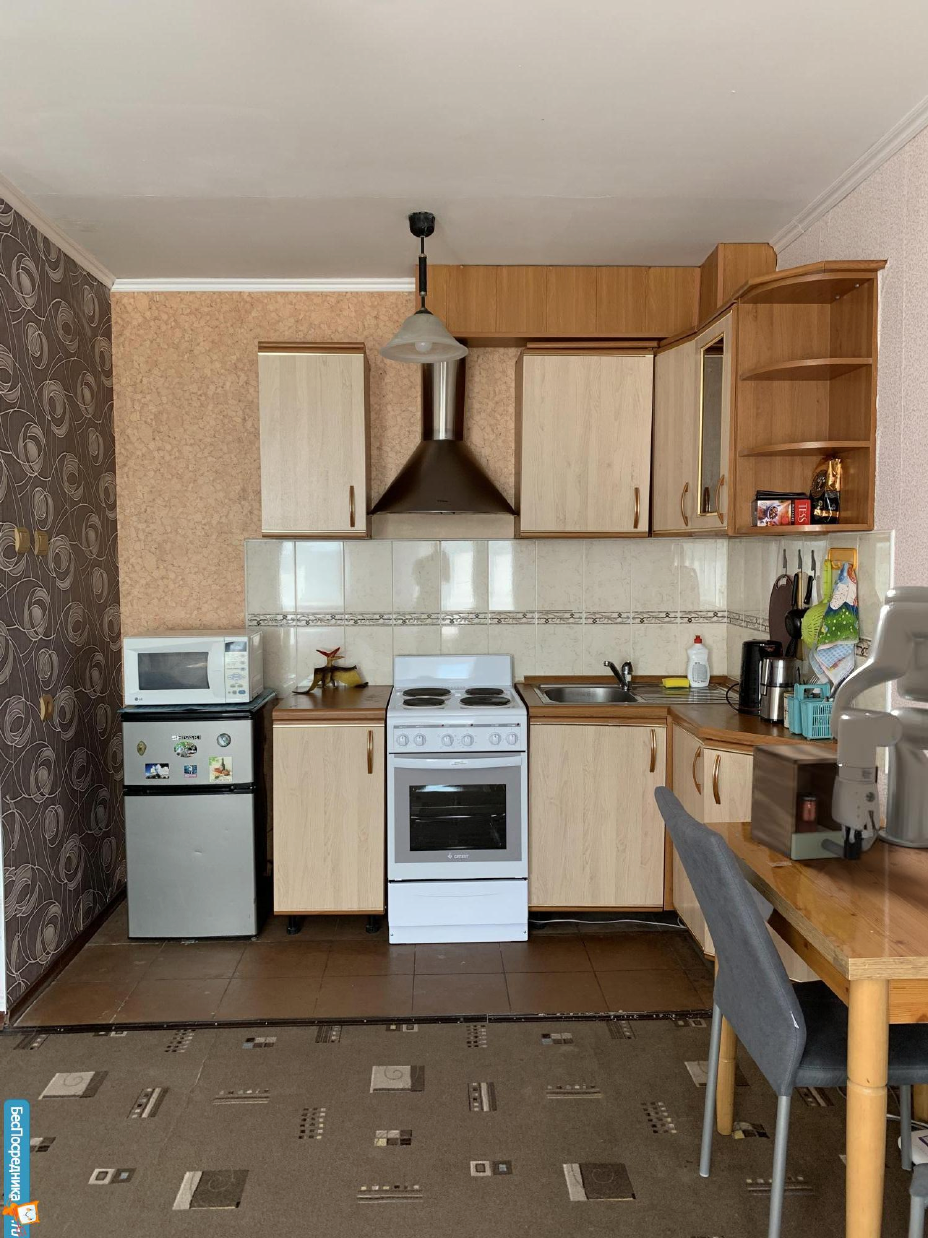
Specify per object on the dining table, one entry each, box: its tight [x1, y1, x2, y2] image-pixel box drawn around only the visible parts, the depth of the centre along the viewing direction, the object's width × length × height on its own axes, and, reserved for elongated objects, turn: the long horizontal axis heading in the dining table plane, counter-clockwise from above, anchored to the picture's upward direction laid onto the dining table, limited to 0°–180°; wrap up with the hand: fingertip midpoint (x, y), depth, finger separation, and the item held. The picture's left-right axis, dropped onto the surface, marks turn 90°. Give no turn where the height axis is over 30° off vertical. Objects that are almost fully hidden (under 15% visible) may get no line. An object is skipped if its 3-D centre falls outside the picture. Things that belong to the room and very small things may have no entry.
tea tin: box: [795, 792, 819, 834], centre depth 210 cm, size 5×5×10 cm
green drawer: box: [791, 824, 845, 861], centre depth 207 cm, size 16×23×5 cm
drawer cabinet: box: [749, 743, 841, 860], centre depth 211 cm, size 16×16×22 cm
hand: (852, 859), depth 194 cm, fingers closed
